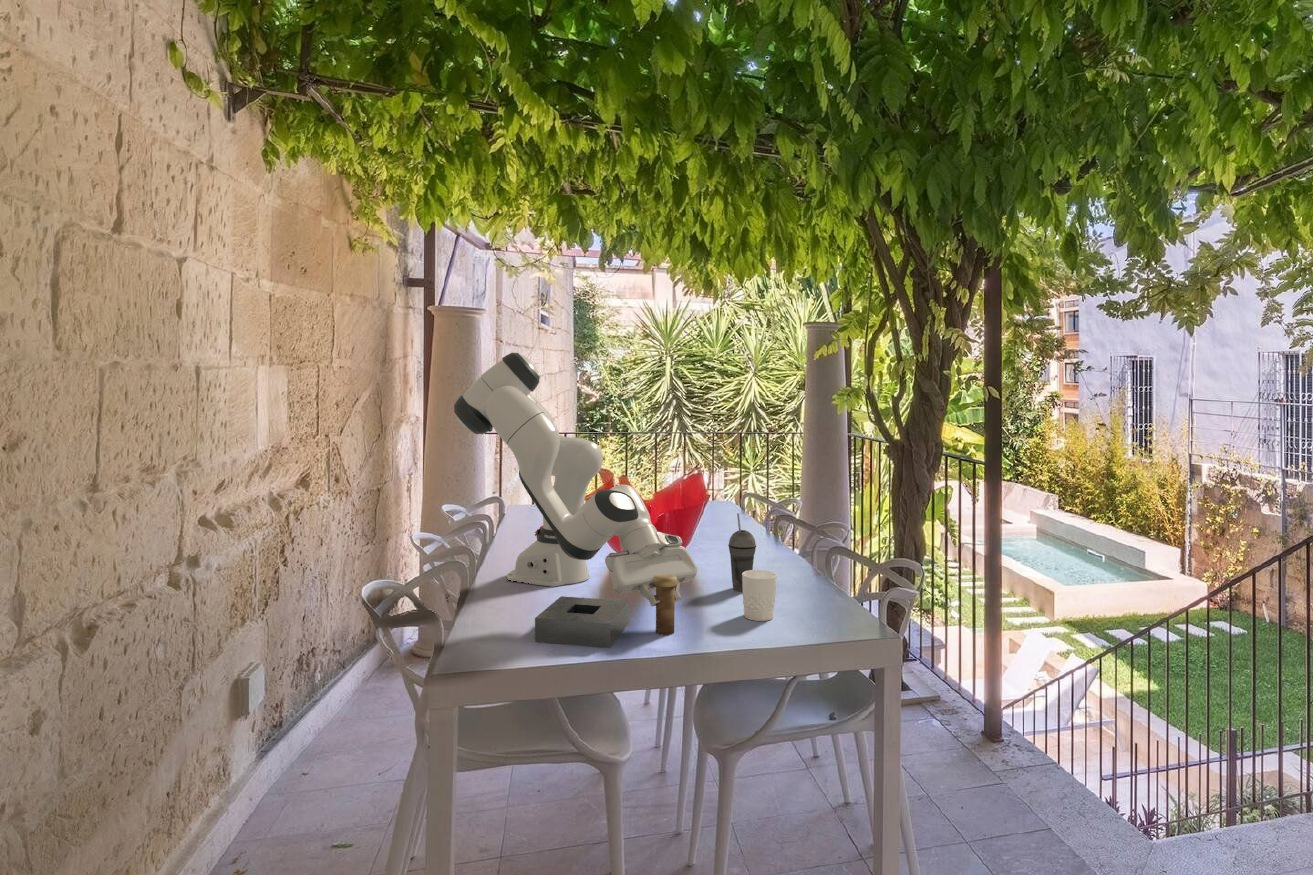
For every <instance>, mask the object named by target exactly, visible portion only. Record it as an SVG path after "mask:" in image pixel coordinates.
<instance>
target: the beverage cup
mask: <svg viewBox="0 0 1313 875" xmlns="http://www.w3.org/2000/svg"><path fill="white" fill-rule="evenodd" d="M736 515H737V525H738V526H737V527H738V530H736V531H734V533H732V535H731V536H730V537H729V540H728V545H727V546H728V549H729V555H730V566H731V567H730V568H731V570H730V571H731V583H732V590H733V591H736V592H741V593H743V586H742V573H743V572H745V571H749V570H754V569H753V568H754V567H753V566H754V561H755V560H754V558H755V554H756V549H757V548H756V547H757V543H756V540H755V537H754V535H753V534H752V533H751V532H749V531H748V530H746V529H742V528H741V519H740V513H736Z"/></svg>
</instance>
